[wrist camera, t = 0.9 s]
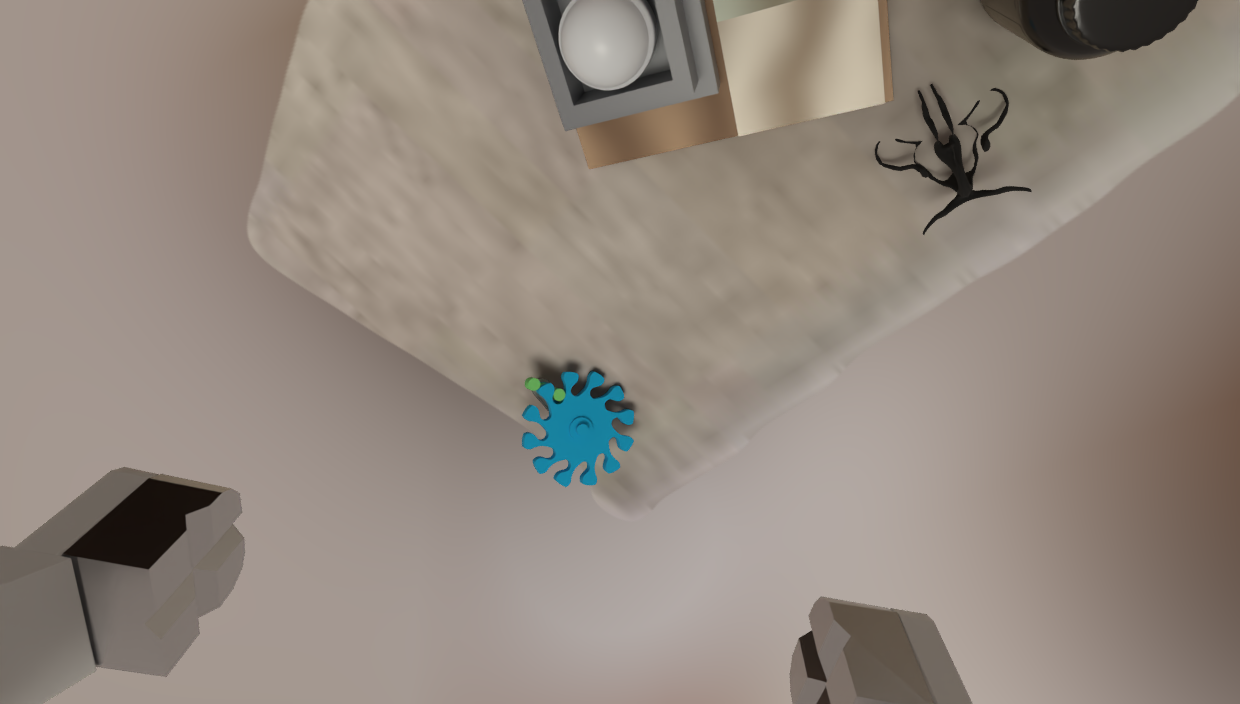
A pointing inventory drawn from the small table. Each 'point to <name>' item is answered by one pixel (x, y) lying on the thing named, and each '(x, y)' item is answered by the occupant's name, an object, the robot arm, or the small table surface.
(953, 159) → the creature
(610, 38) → the dome
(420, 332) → the small table surface
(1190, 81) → the small table surface
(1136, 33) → the supplement bottle
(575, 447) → the blue lobed plastic figure
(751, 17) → the board
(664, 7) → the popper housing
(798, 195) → the small table surface
